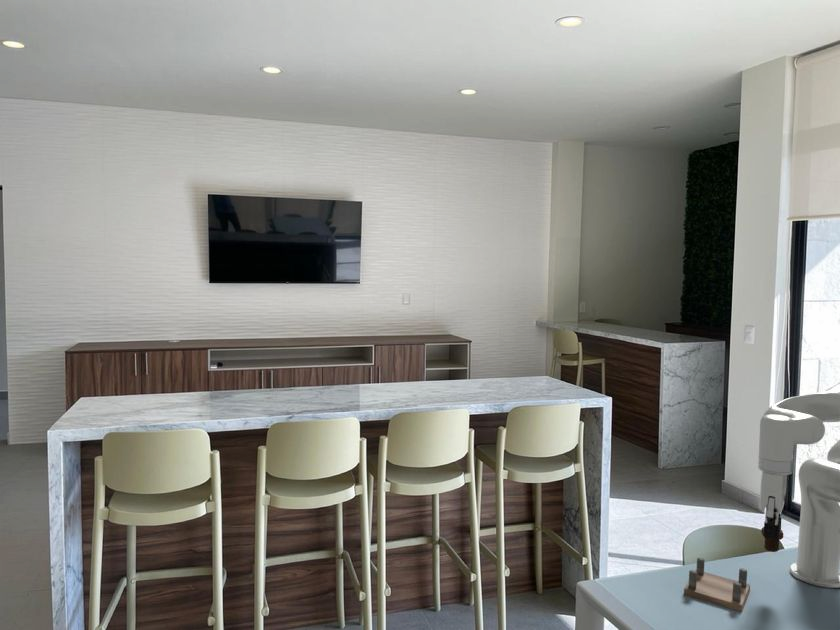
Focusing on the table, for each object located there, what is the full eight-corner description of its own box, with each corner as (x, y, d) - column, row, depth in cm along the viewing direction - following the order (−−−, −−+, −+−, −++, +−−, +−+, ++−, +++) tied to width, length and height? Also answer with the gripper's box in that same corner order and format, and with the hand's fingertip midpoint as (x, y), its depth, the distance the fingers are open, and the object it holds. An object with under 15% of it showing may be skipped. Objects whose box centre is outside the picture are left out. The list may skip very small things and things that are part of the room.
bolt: (786, 556, 158) (789, 497, 156) (764, 554, 159) (767, 495, 157) (778, 546, 163) (780, 489, 162) (757, 544, 164) (759, 487, 163)
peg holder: (695, 575, 169) (696, 554, 168) (749, 590, 161) (751, 569, 161) (683, 594, 158) (685, 573, 158) (741, 611, 151) (743, 589, 150)
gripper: (763, 453, 168) (760, 520, 170) (753, 470, 154) (750, 543, 156) (795, 458, 164) (792, 527, 165) (789, 476, 150) (785, 551, 152)
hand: (772, 534), depth 161 cm, fingers closed on bolt, 4 cm apart
